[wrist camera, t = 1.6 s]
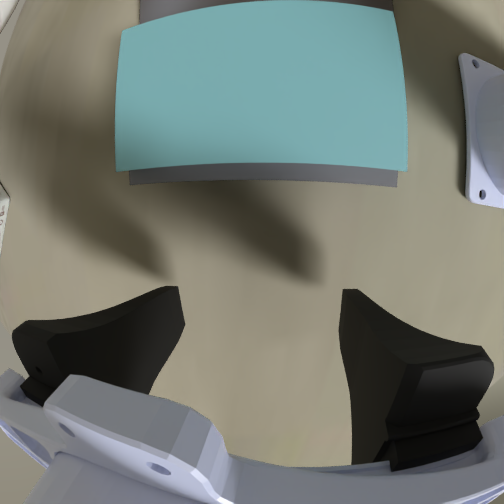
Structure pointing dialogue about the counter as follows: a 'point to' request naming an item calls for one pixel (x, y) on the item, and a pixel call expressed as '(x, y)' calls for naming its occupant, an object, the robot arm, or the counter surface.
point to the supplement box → (3, 212)
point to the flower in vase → (6, 11)
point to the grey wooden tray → (169, 3)
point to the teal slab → (263, 95)
